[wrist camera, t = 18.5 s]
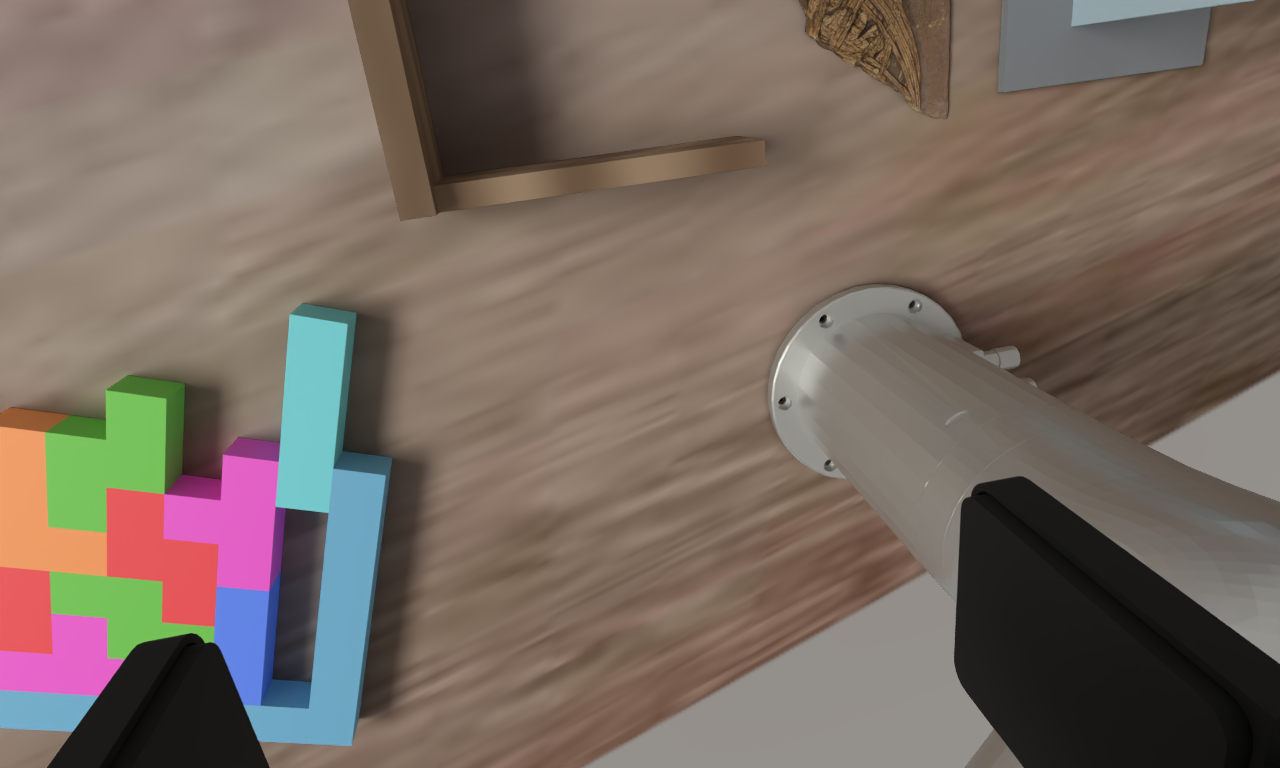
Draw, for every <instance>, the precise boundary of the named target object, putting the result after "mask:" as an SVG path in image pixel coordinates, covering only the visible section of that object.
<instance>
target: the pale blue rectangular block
mask: <svg viewBox="0 0 1280 768" xmlns="http://www.w3.org/2000/svg"><path fill="white" fill-rule="evenodd" d="M1249 1H1256V0H1073V12H1072V24H1071V27H1072V26H1079V25H1087V24H1094V23H1101V22H1109V21H1116V20H1123V19H1131V18H1138V17H1146V16H1153V15H1160V14H1166V13H1173V12H1180V11H1187V10H1194V9H1201V8H1208V7H1215V6H1222V5H1229V4H1236V3H1243V2H1249Z"/></svg>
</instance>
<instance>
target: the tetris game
mask: <svg viewBox="0 0 1280 768" xmlns="http://www.w3.org/2000/svg"><path fill="white" fill-rule="evenodd" d="M356 316H357V313H356V312H350V311H344V310H338V309H332V308H326V307H320V306H314V305H309V304H303V303H302V304H301V305H300V306H299V307H298V308H296V309H295V310H294V311H293V312H292V313H291V314H290V320H289V333H288V346H287V360H286V373H285V386H284V400H283V413H282V426H281V440H280V443H277V442H270V441H262V440H254V439H247V438H239V437H238V438H237V439H236V440H235V441H234V443H233V444H232V445H231V446H230V447H229V448H228V450H227V451H226V452H225V453H224V454H223V465H222V480H221V479H213V478H204V477H196V476H188V475H182V469H183V434H184V400H185V384H184V383H177V382H170V381H163V380H156V379H149V378H142V377H135V376H129V375H128V376H126V377H125V378H123V379H122V380H120V381H119V382H117V383H116V384H114V385H113V386H111V387H110V388H108V389H107V390H106V420H102V419H94V418H87V417H79V416H72V415H64V414H56V413H49V412H41V411H33V410H26V409H18V408H11V407H10V408H9V409H7V410H5V411H4V412H2V413H0V728H12V729H31V730H51V731H70V732H73V731H74V730H75V728H76V727H77V725H78V724H79V723H80V721H81V720H82V718H83V717H84V716H85V714H86V713H87V711H88V710H89V709H90V707H91V706H92V705H93V703H94V702H95V700H96V699H97V698H98V696H99V695H100V693H101V692H102V691H103V689H104V688H105V686H106V685H107V684H108V682H109V681H110V679H111V678H112V677H113V675H114V674H115V673H116V671H117V670H118V668H119V667H120V666H121V664H122V663H123V661H124V660H125V659H126V657H127V656H128V654H129V653H130V652H131V650H132V649H133V648H134V647H135V646H136V645H138V644H140V643H143V642H147V641H152V640H157V639H162V638H168V637H173V636H178V635H184V634H189V633H194V634H198V635H199V636H200V637H201V638H202V639H203V640H204V642H205V643H208V642H212V643H215V644H216V645H217V646H218V647H219V648H220V650H221V652H222V654H223V657H224V659H225V661H226V664H227V666H228V669H229V671H230V673H231V676H232V678H233V681H234V683H235V686H236V688H237V690H238V693H239V695H240V698H241V700H242V702H243V705H244V707H245V710H246V712H247V714H248V717H249V719H250V722H251V724H252V727H253V729H254V731H255V734H256V736H257V739H258V741H265V742H284V743H304V744H323V745H342V746H352V743H353V739H354V735H355V732H356V728H357V724H358V720H359V714H360V707H361V699H362V691H363V683H364V675H365V668H366V660H367V652H368V644H369V636H370V629H371V621H372V613H373V605H374V597H375V590H376V582H377V574H378V566H379V558H380V551H381V543H382V535H383V527H384V519H385V512H386V504H387V496H388V488H389V480H390V473H391V465H392V457H384V456H376V455H369V454H361V453H354V452H346V451H342V450H343V441H344V431H345V421H346V412H347V402H348V393H349V383H350V373H351V364H352V354H353V345H354V335H355V325H356ZM286 508H290V509H299V510H307V511H316V512H325V513H329V514H328V524H327V534H326V544H325V554H324V564H323V574H322V584H321V594H320V604H319V613H318V623H317V633H316V643H315V653H314V663H313V673H312V682H304V681H290V680H275V679H272V676H273V663H274V651H275V638H276V626H277V613H278V601H279V588H280V575H281V563H282V550H283V538H284V525H285V513H286Z"/></svg>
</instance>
